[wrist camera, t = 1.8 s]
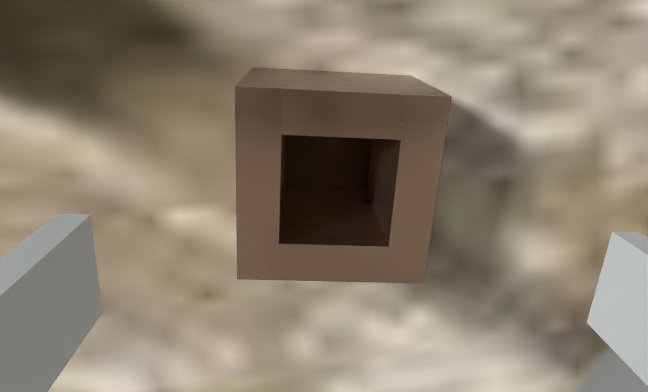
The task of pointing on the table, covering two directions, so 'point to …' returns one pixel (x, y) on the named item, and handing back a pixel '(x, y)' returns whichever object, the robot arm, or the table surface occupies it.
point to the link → (331, 204)
